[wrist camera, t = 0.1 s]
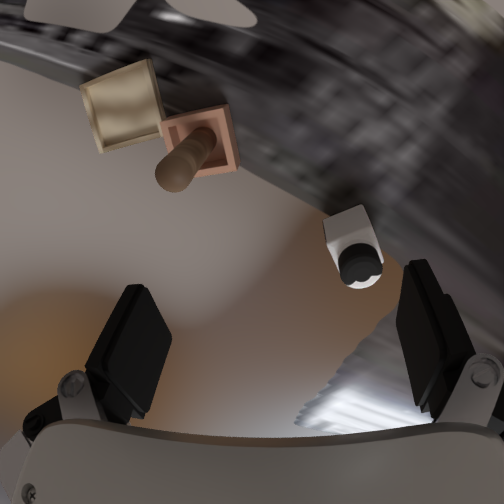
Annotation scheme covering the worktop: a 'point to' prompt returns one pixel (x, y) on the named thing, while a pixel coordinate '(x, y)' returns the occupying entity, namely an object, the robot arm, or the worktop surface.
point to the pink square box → (215, 119)
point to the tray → (124, 106)
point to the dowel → (185, 160)
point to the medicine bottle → (354, 247)
